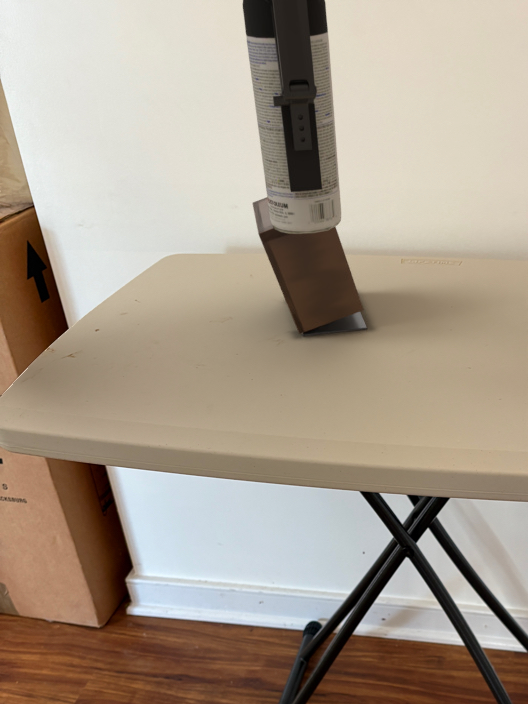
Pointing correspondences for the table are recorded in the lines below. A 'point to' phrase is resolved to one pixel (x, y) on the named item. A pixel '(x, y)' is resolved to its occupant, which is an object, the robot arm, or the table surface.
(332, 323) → the stand
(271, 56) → the spray can
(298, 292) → the brown box with handle
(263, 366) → the table surface
